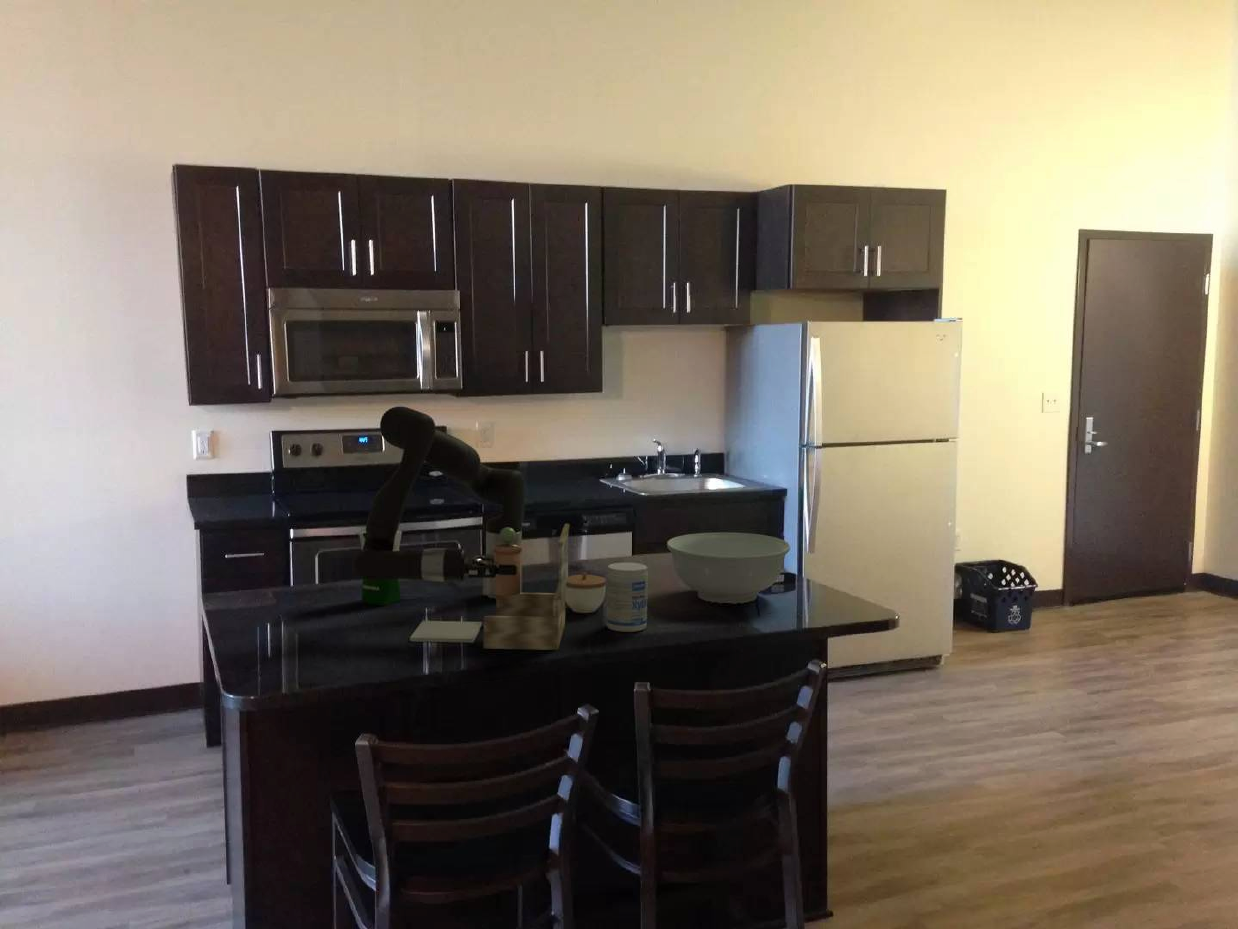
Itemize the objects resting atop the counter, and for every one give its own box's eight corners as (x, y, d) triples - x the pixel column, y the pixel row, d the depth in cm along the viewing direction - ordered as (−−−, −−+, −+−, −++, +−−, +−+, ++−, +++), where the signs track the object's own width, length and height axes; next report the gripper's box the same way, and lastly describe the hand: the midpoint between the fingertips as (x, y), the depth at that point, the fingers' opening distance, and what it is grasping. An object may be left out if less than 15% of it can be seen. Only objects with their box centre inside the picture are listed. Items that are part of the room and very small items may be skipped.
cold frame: (483, 648, 230) (483, 540, 227) (497, 620, 252) (497, 522, 250) (561, 650, 230) (562, 542, 227) (568, 622, 252) (569, 523, 249)
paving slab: (409, 641, 235) (409, 637, 235) (422, 624, 249) (422, 620, 248) (472, 642, 234) (472, 639, 234) (482, 625, 248) (482, 622, 248)
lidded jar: (600, 616, 258) (601, 579, 256) (557, 613, 260) (558, 576, 259) (609, 606, 268) (610, 569, 267) (568, 603, 270) (568, 567, 269)
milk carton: (356, 603, 267) (355, 525, 264) (378, 595, 275) (377, 519, 273) (384, 607, 263) (383, 528, 261) (406, 599, 271) (406, 522, 269)
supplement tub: (640, 635, 242) (641, 572, 241) (600, 631, 245) (601, 568, 243) (651, 624, 252) (652, 563, 250) (613, 620, 254) (614, 560, 253)
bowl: (647, 604, 270) (648, 548, 268) (687, 578, 300) (689, 527, 298) (771, 619, 258) (773, 560, 256) (800, 590, 288) (802, 537, 286)
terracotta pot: (486, 593, 239) (487, 527, 237) (504, 587, 245) (504, 523, 243) (510, 597, 236) (510, 531, 234) (527, 591, 241) (528, 526, 239)
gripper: (438, 555, 232) (515, 557, 232) (449, 542, 246) (521, 544, 246) (438, 588, 233) (514, 590, 233) (449, 574, 247) (521, 576, 247)
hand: (518, 566), depth 239 cm, fingers closed on terracotta pot, 6 cm apart
